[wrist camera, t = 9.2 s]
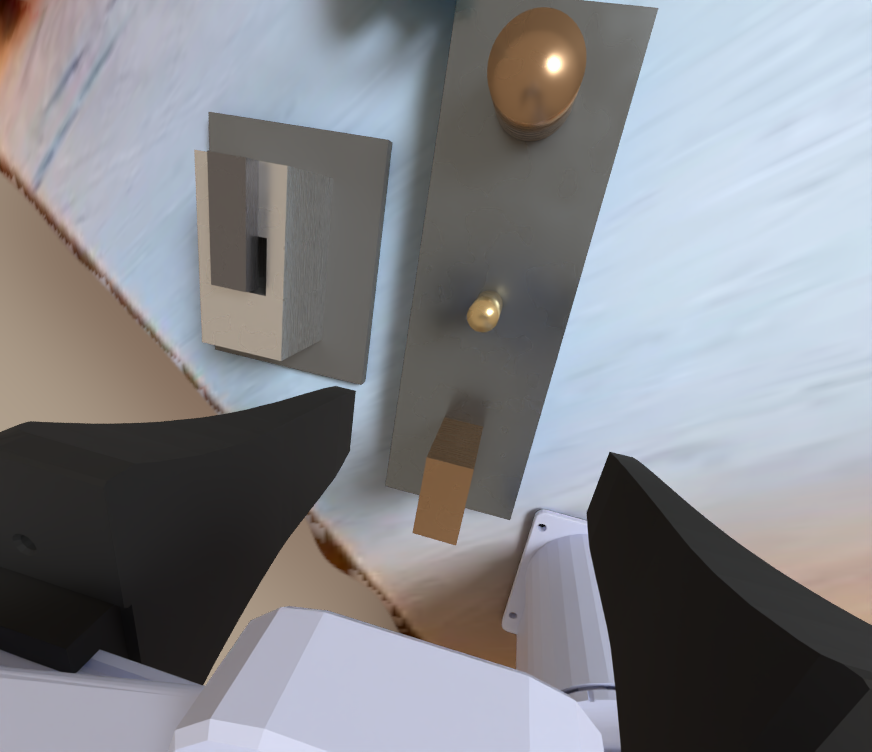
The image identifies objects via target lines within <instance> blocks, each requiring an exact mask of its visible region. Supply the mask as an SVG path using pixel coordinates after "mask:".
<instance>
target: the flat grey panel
mask: <svg viewBox="0 0 872 752" xmlns="http://www.w3.org/2000/svg"><path fill="white" fill-rule="evenodd" d="M209 145H210V151H211V152H217V153H223V154H229V155H234V156H240V157H246V158H250V159H254V160H257V161H262V162H268V163H274V164H280V165H286V166H290V167H294V168H297V169H301V170H304V171H308V172H312V173H315V174H319V175H323V176H326V177H330V178H333V185H332V199H331V214H330V228H329V242H328V257H327V271H326V286H325V300H324V314H323V329H322V340H320V341H318V342H316V343H314V344H312V345H311V346H309V347H307V348H305V349H303V350H301V351H299V352H297V353H295V354H294V355H292V356H290V357H288V358H286V359H284V360H282V361H279V360H274V359H270V358H266V357H262V356H258V355H254V354H250V353H245V352H241V351H237V350H233V349H229V348H225V347H221V346H216V345H215V349H216V350H220V351H224V352H228V353H232V354H236V355H241V356H245V357H249V358H253V359H257V360H261V361H265V362H269V363H274V364H278V365H282V366H286V367H290V368H294V369H298V370H302V371H306V372H311V373H315V374H319V375H323V376H327V377H331V378H335V379H339V380H344V381H348V382H352V383H356V384H360V385H362V384H363V383H364V382H365V379H366V370H367V361H368V353H369V344H370V335H371V326H372V317H373V308H374V300H375V291H376V282H377V273H378V264H379V256H380V247H381V238H382V229H383V220H384V211H385V203H386V194H387V185H388V176H389V167H390V158H391V150H392V142H391V141H389V140H385V139H379V138H373V137H366V136H360V135H354V134H347V133H341V132H334V131H328V130H322V129H315V128H309V127H303V126H296V125H290V124H284V123H277V122H271V121H264V120H258V119H252V118H245V117H239V116H233V115H226V114H220V113H213V112H209Z"/></svg>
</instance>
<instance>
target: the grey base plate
mask: <svg viewBox="0 0 872 752" xmlns="http://www.w3.org/2000/svg"><path fill="white" fill-rule="evenodd" d="M657 11H658V8H653V7H643V6H633V5H623V4H614V3H604V2H594V1H584V0H457V2H456V9H455V16H454V22H453V29H452V36H451V43H450V50H449V56H448V63H447V70H446V77H445V84H444V90H443V97H442V104H441V111H440V118H439V124H438V131H437V138H436V145H435V152H434V158H433V165H432V172H431V179H430V186H429V192H428V199H427V206H426V213H425V220H424V226H423V233H422V240H421V247H420V254H419V260H418V267H417V274H416V281H415V287H414V294H413V301H412V308H411V315H410V321H409V328H408V335H407V342H406V349H405V355H404V362H403V369H402V376H401V383H400V389H399V396H398V403H397V410H396V417H395V423H394V430H393V437H392V444H391V451H390V457H389V464H388V471H387V478H386V485H385V486H388V487H391V488H395V489H399V490H402V491H406V492H410V493H413V494H417V495H420V496H419V501H418V507H417V512H416V518H415V523H414V528H413V533H415V534H418V535H422V536H425V537H429V538H432V539H435V540H439V541H442V542H446V543H449V544H453V545H456V543H457V539H458V535H459V531H460V526H461V522H462V518H463V514H464V509H465V508H468V509H471V510H475V511H479V512H482V513H486V514H489V515H493V516H497V517H500V518H504V519H508V520H510V519H511V515H512V512H513V508H514V505H515V501H516V498H517V495H518V491H519V488H520V484H521V481H522V477H523V474H524V470H525V467H526V463H527V460H528V457H529V453H530V450H531V446H532V443H533V439H534V436H535V432H536V429H537V425H538V422H539V419H540V415H541V412H542V408H543V405H544V401H545V398H546V394H547V391H548V387H549V384H550V381H551V377H552V374H553V370H554V367H555V363H556V360H557V356H558V353H559V349H560V346H561V343H562V339H563V336H564V332H565V329H566V325H567V322H568V318H569V315H570V311H571V308H572V305H573V301H574V298H575V294H576V291H577V287H578V284H579V280H580V277H581V273H582V270H583V267H584V263H585V260H586V256H587V253H588V249H589V246H590V242H591V239H592V235H593V232H594V229H595V225H596V222H597V218H598V215H599V211H600V208H601V204H602V201H603V197H604V194H605V191H606V187H607V184H608V180H609V177H610V173H611V170H612V166H613V163H614V159H615V156H616V153H617V149H618V146H619V142H620V139H621V135H622V132H623V128H624V125H625V121H626V118H627V115H628V111H629V108H630V104H631V101H632V97H633V94H634V90H635V87H636V83H637V80H638V77H639V73H640V70H641V66H642V63H643V59H644V56H645V52H646V49H647V45H648V42H649V39H650V35H651V32H652V28H653V25H654V21H655V18H656V14H657Z"/></svg>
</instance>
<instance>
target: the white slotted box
mask: <svg viewBox="0 0 872 752" xmlns="http://www.w3.org/2000/svg"><path fill="white" fill-rule="evenodd" d="M194 151H195V176H196V200H197V225H198V250H199V275H200V300H201V325H202V342H204V343H208V344H212V345H216V346H221V347H225V348H229V349H233V350H237V351H241V352H245V353H250V354H254V355H258V356H262V357H266V358H270V359H274V360H279V361H282V360H284V359H286V358H288V357H290V356H292V355H294V354H295V353H297V352H299V351H301V350H303V349H305V348H307V347H309V346H311V345H312V344H314V343H316V342H318V341H320V340H322V329H323V314H324V300H325V286H326V271H327V257H328V242H329V228H330V214H331V199H332V185H333V178H330V177H326V176H323V175H319V174H315V173H312V172H308V171H304V170H301V169H297V168H294V167H290V166H286V165H280V164H274V163H268V162H262V161H257V160H254V159H250V158H246V157H240V156H234V155H229V154H223V153H217V152H211V151H207V152H204V151H198V150H194Z"/></svg>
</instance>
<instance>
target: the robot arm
mask: <svg viewBox="0 0 872 752" xmlns="http://www.w3.org/2000/svg"><path fill="white" fill-rule="evenodd" d="M355 392H356V391H354V390H350V389H345V388H341V387H337V386H334V387H328V388H324V389H320V390H317V391H313V392H310V393H306V394H303V395H299V396H296V397H293V398H289V399H286V400H282V401H279V402H275V403H271V404H267V405H263V406H259V407H255V408H251V409H247V410H243V411H238V412H233V413H228V414H222V415H216V416H210V417H203V418H194V419H184V420H174V421H164V422H149V423H123V424H83V423H53V422H26V423H23V424H19V425H17V426H14V427H12V428H9V429H7V430H4V431H2V432H0V752H872V625H870V624H868V623H867V622H865V621H863V620H861V619H859V618H857V617H855V616H854V615H852V614H850V613H848V612H847V611H845V610H843V609H841V608H839V607H838V606H836V605H834V604H832V603H831V602H829V601H827V600H826V599H824V598H822V597H821V596H819V595H817V594H816V593H814V592H812V591H811V590H809V589H807V588H806V587H804V586H802V585H801V584H799V583H797V582H796V581H794V580H792V579H791V578H789V577H788V576H786V575H785V574H783V573H781V572H780V571H778V570H777V569H775V568H774V567H772V566H771V565H769V564H768V563H766V562H765V561H763V560H762V559H761V558H759V557H758V556H756V555H755V554H753V553H752V552H750V551H749V550H747V549H746V548H745V547H743V546H742V545H740V544H739V543H738V542H736V541H735V540H734V539H732V538H731V537H729V536H728V535H727V534H726V533H724V532H723V531H722V530H720V529H719V528H718V527H717V526H715V525H714V524H713V523H712V522H710V521H709V520H708V519H706V518H705V517H704V516H703V515H702V514H700V513H699V512H698V511H697V510H695V509H694V508H693V507H692V506H691V505H690V504H688V503H687V502H686V501H685V500H684V499H682V498H681V497H680V496H679V495H678V494H677V493H676V492H674V491H673V490H672V489H671V488H670V487H669V486H668V485H666V484H665V483H664V482H663V481H662V480H661V479H660V478H658V477H657V476H656V475H655V474H654V473H653V472H651V471H650V470H649V469H648V468H647V467H645V466H644V465H643V464H642V463H640V462H639V461H638V460H636V459H635V458H633V457H629V456H624V455H620V454H616V453H612V452H609V455H608V458H607V460H606V463H605V466H604V468H603V471H602V473H601V476H600V479H599V481H598V484H597V487H596V489H595V492H594V495H593V497H592V500H591V503H590V505H589V508H588V511H587V521H586V520H583V519H579V518H575V517H571V516H568V515H564V514H560V513H556V512H553V511H549V510H544V509H542V510H539V511H537V512H536V514H535V517H534V520H533V523H532V526H531V529H530V532H529V536H528V539H527V542H526V545H525V548H524V551H523V555H522V558H521V561H520V564H519V567H518V570H517V574H516V577H515V580H514V583H513V586H512V590H511V593H510V596H509V599H508V602H507V605H506V609H505V612H504V615H503V618H502V628H503V629H504V630H505V631H507V632H510V633H514V634H517V644H516V669H513V668H510V667H507V666H503V665H500V664H497V663H494V662H491V661H487V660H484V659H481V658H478V657H475V656H472V655H468V654H465V653H462V652H459V651H456V650H452V649H449V648H446V647H443V646H440V645H436V644H433V643H430V642H427V641H424V640H420V639H417V638H414V637H411V636H408V635H404V634H401V633H398V632H395V631H392V630H388V629H385V628H382V627H379V626H376V625H372V624H369V623H366V622H363V621H360V620H356V619H353V618H350V617H347V616H343V615H340V614H337V613H334V612H331V611H328V610H327V611H326V610H318V609H309V608H300V607H291V606H288V607H280V608H278V609H276V610H273V611H271V612H269V613H267V614H264V615H262V616H260V617H257V618H255V619H253V620H251V621H250V622H249V623H248V625H247V626H246V628H245V629H244V631H243V632H242V633H241V635H240V637H239V638H238V639H237V641H236V642H235V644H234V645H233V647H232V648H231V649H230V651H229V652H228V654H227V655H226V657H225V658H224V660H223V661H222V662H221V664H220V665H219V667H218V668H217V670H216V671H215V673H214V674H213V676H212V677H211V679H210V680H209V681H208V683H207V684H206V686H203V684H204V682H205V681H206V679H207V676H208V675H209V673H210V671H211V669H212V667H213V665H214V663H215V661H216V660H217V658H218V656H219V654H220V652H221V651H222V649H223V647H224V645H225V643H226V641H227V640H228V638H229V636H230V634H231V633H232V631H233V629H234V627H235V625H236V623H237V622H238V619H239V618H240V616H241V615H242V613H243V611H244V609H245V608H246V606H247V604H248V602H249V601H250V599H251V598H252V596H253V594H254V592H255V591H256V589H257V587H258V586H259V584H260V582H261V580H262V579H263V577H264V576H265V574H266V572H267V571H268V569H269V567H270V566H271V564H272V563H273V561H274V559H275V558H276V556H277V554H278V553H279V551H280V550H281V548H282V547H283V545H284V544H285V542H286V541H287V540H288V538H289V537H290V535H291V534H292V533H293V532H294V530H295V529H296V528H297V526H298V525H299V524H300V522H301V521H302V520H303V519H304V517H305V516H306V515H307V513H308V512H309V511H310V510H311V508H312V507H313V506H314V504H315V503H316V502H317V501H318V499H319V498H320V497H321V495H322V494H323V493H324V491H325V490H326V489H327V488H328V486H329V485H330V484H331V482H332V481H333V480H334V478H335V477H336V475H337V473H338V471H339V470H340V468H341V466H342V464H343V463H344V461H345V459H346V457H347V455H348V453H349V451H350V443H351V433H352V423H353V412H354V402H355ZM539 524H544V525H546V526H544V527H540V526H538V525H539ZM511 612H514V613H511Z"/></svg>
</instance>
